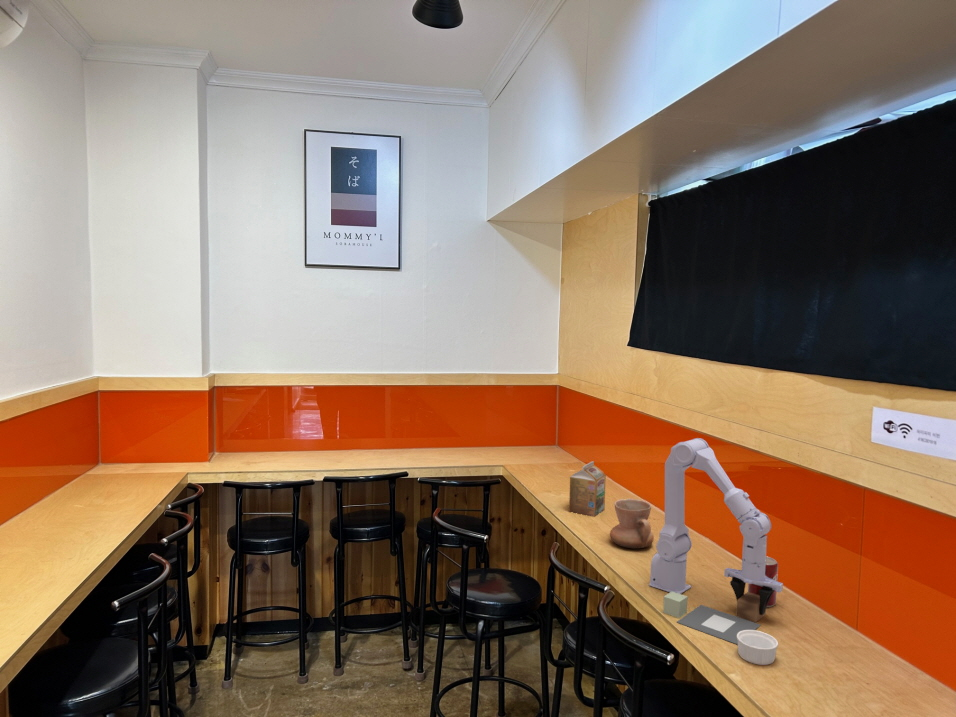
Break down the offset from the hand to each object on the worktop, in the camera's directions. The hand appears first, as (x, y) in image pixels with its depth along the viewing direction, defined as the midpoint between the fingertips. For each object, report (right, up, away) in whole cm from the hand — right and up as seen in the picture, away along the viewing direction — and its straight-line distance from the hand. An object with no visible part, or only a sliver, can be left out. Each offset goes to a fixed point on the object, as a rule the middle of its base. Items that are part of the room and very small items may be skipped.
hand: (751, 610), depth 176 cm
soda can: (+6, -1, +8) cm, 10 cm away
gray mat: (-10, -2, -5) cm, 12 cm away
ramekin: (-7, -3, -21) cm, 22 cm away
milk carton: (-29, +6, +87) cm, 92 cm away
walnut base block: (0, -1, 0) cm, 1 cm away
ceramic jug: (-20, +3, +50) cm, 54 cm away
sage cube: (-20, -1, +1) cm, 20 cm away
